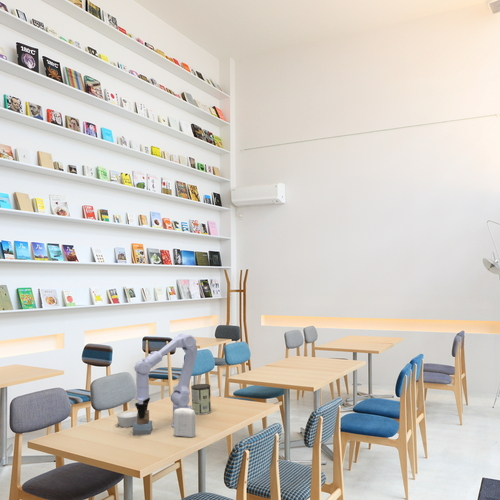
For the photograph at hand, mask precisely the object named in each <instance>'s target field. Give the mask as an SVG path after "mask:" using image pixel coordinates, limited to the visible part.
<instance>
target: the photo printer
mask: <svg viewBox="0 0 500 500" xmlns="http://www.w3.org/2000/svg"><path fill="white" fill-rule="evenodd" d="M173 436H174V437H175V436H176V437H186V438H194V437H196V414H195V411H194V410H192V409H189V408H179V409H176V410H175V411H174V427H173Z"/></svg>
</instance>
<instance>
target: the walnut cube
mask: <svg viewBox="0 0 500 500" xmlns="http://www.w3.org/2000/svg"><path fill="white" fill-rule="evenodd" d="M149 421H150V409H147V410H145V417H144V418H142V419H140V418H139V414H138V413H137V424H148V423H149Z"/></svg>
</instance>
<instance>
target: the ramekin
mask: <svg viewBox="0 0 500 500" xmlns="http://www.w3.org/2000/svg"><path fill="white" fill-rule="evenodd" d="M137 413H138V411H135V410H128V411H123V412H120V413H117V414H116V418H117V423H118V426H119V427H121V428H131V427H132V428H133V424H134V423H136V422H137Z"/></svg>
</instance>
